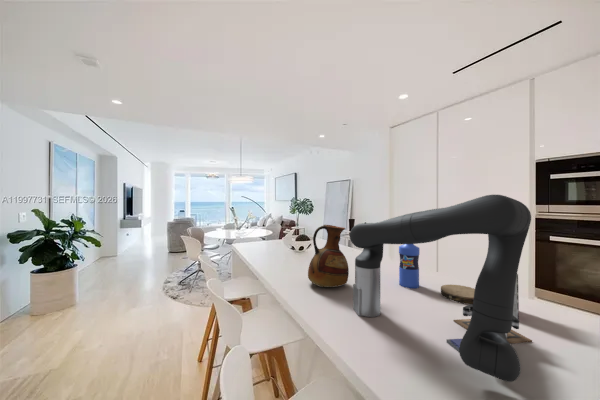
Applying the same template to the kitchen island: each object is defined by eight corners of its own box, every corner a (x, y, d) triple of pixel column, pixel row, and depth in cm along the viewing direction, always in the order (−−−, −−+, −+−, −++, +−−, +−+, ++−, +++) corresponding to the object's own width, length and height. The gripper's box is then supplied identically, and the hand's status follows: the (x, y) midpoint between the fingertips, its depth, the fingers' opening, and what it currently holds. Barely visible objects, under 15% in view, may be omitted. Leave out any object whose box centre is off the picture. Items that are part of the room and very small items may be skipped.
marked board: (489, 344, 70) (489, 342, 70) (453, 321, 84) (453, 319, 84) (532, 342, 71) (532, 340, 71) (489, 319, 85) (489, 317, 85)
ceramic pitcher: (352, 292, 111) (352, 226, 111) (308, 291, 111) (308, 226, 111) (344, 278, 130) (345, 223, 131) (307, 278, 131) (307, 222, 131)
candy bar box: (496, 306, 97) (495, 264, 97) (512, 308, 94) (512, 266, 94) (501, 317, 87) (500, 271, 87) (519, 320, 85) (519, 273, 85)
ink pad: (477, 367, 60) (477, 362, 60) (446, 342, 71) (446, 338, 71) (517, 364, 61) (517, 359, 61) (480, 340, 72) (480, 336, 72)
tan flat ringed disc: (451, 288, 117) (451, 282, 117) (491, 300, 103) (491, 293, 103) (433, 295, 109) (433, 288, 109) (473, 308, 95) (473, 300, 95)
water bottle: (401, 281, 127) (401, 233, 127) (421, 284, 121) (421, 234, 122) (396, 286, 119) (396, 235, 119) (417, 290, 114) (417, 237, 114)
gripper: (523, 321, 62) (518, 301, 76) (458, 306, 71) (463, 290, 84) (523, 351, 62) (518, 325, 76) (458, 332, 71) (463, 312, 84)
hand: (489, 307), depth 80 cm, fingers closed on cork, 3 cm apart
